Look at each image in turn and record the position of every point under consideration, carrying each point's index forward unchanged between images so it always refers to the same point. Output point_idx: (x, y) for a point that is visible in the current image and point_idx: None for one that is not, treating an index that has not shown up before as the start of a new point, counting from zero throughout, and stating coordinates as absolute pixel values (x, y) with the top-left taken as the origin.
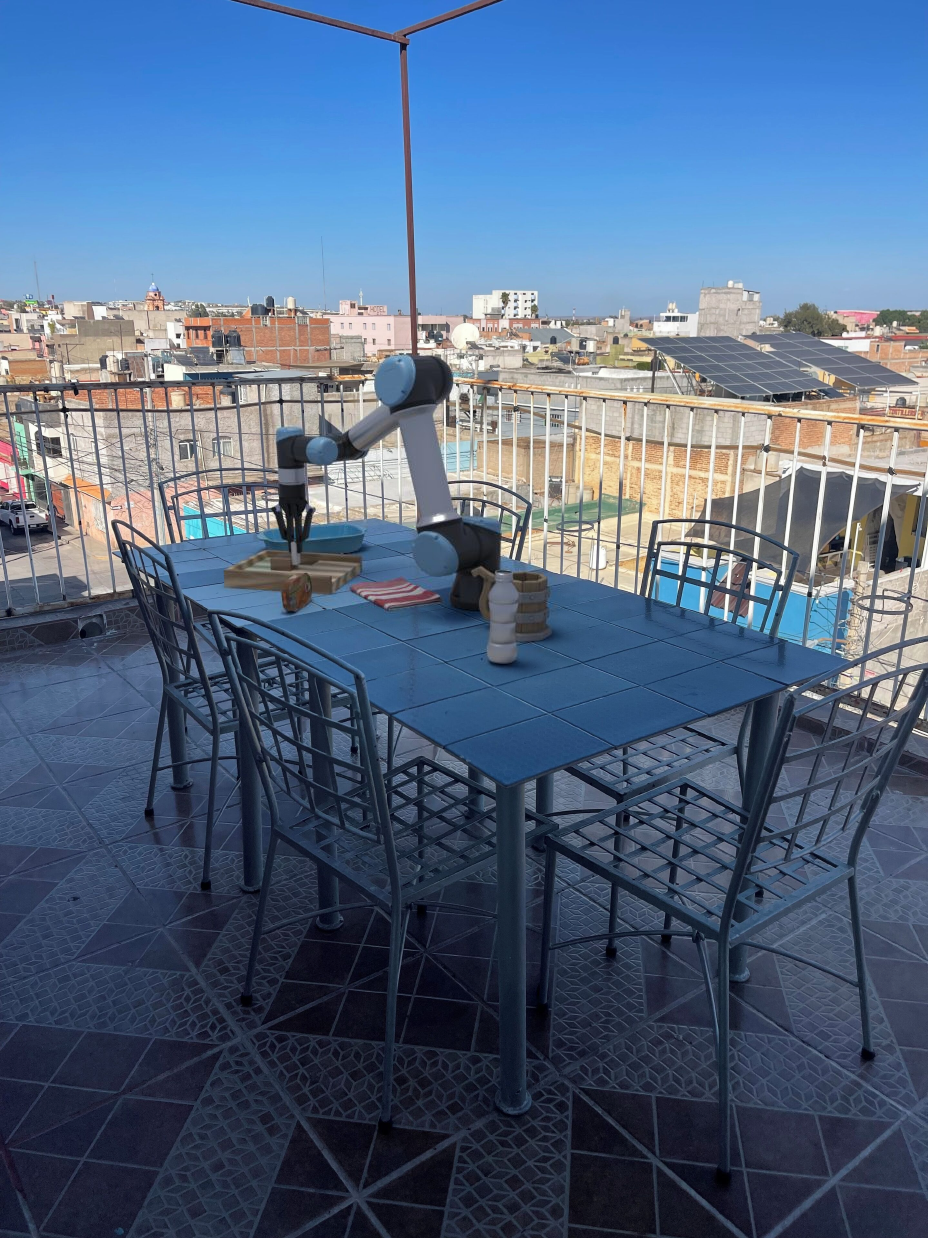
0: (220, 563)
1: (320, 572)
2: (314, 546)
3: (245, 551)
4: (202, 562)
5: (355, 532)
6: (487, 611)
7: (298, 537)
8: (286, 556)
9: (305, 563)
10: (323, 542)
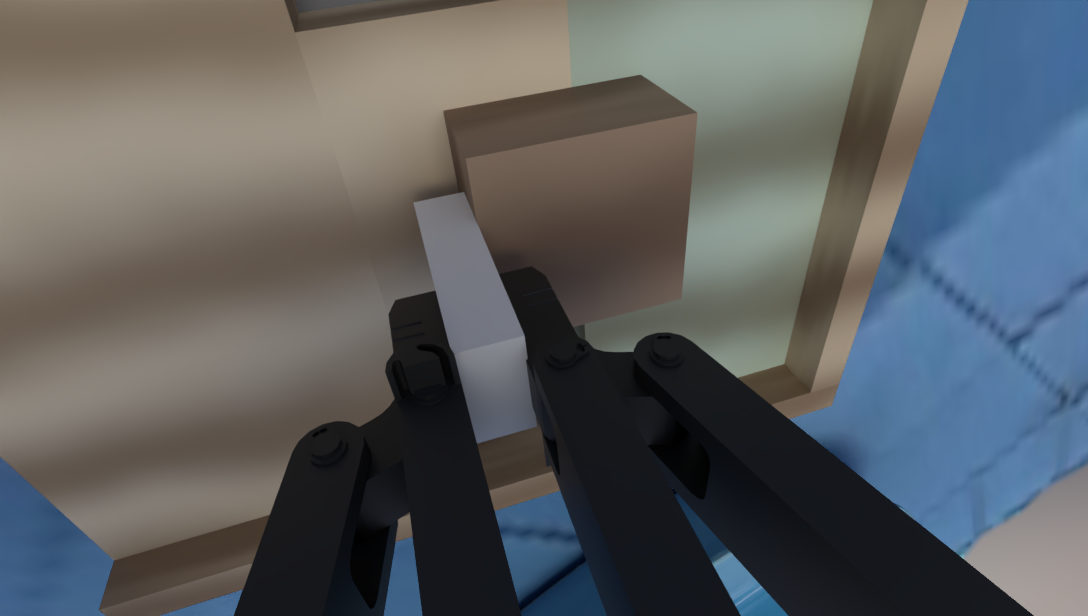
0: (1000, 267)
1: (122, 211)
2: None
3: (908, 454)
4: (1085, 242)
5: None
6: None
7: (416, 436)
8: (573, 261)
9: None
10: None
